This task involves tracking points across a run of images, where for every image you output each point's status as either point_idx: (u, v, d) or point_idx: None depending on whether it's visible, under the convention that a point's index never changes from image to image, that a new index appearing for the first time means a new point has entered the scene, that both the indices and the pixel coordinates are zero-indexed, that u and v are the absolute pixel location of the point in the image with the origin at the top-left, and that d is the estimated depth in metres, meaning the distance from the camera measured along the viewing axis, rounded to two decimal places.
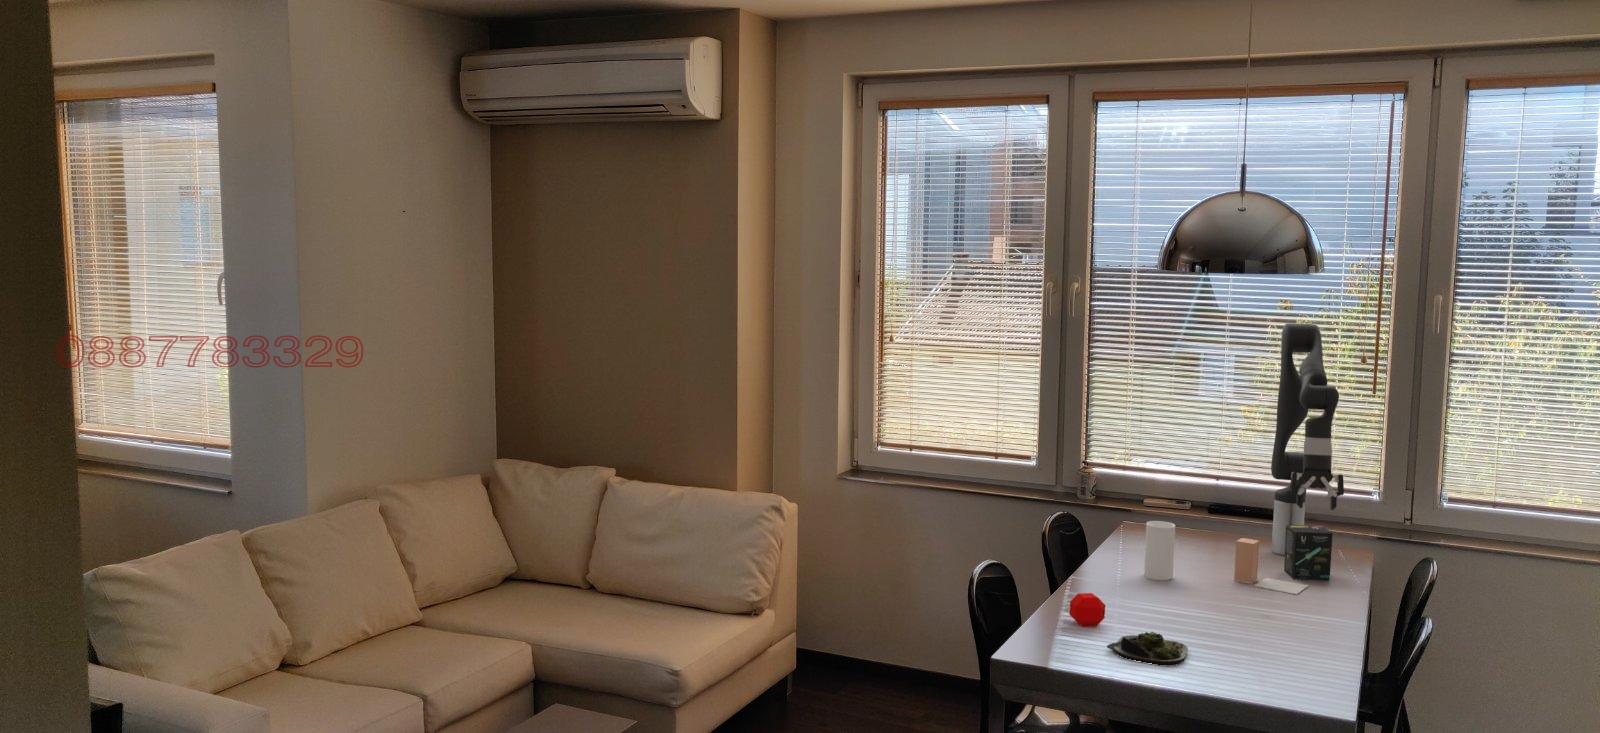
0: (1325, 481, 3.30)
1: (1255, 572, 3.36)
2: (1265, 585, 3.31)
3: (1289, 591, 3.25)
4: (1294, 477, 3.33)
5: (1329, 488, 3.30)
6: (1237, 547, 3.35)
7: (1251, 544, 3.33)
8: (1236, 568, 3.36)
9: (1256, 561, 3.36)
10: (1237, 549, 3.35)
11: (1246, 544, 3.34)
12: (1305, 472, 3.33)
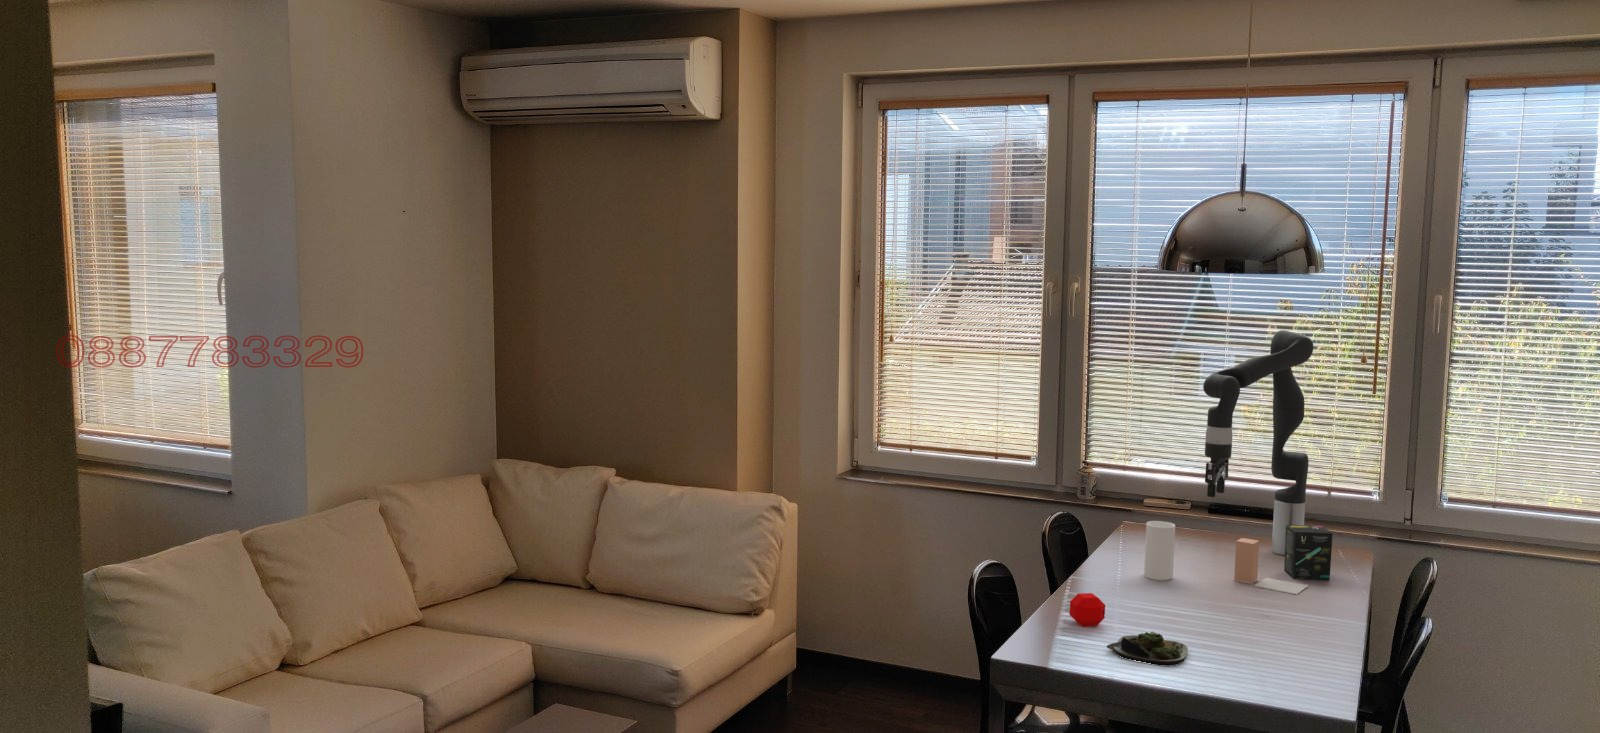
0: None
1: (1255, 572, 3.36)
2: (1265, 585, 3.31)
3: (1289, 591, 3.25)
4: None
5: None
6: (1237, 547, 3.35)
7: (1251, 544, 3.33)
8: (1236, 568, 3.36)
9: (1256, 561, 3.36)
10: (1237, 549, 3.36)
11: (1246, 544, 3.34)
12: None
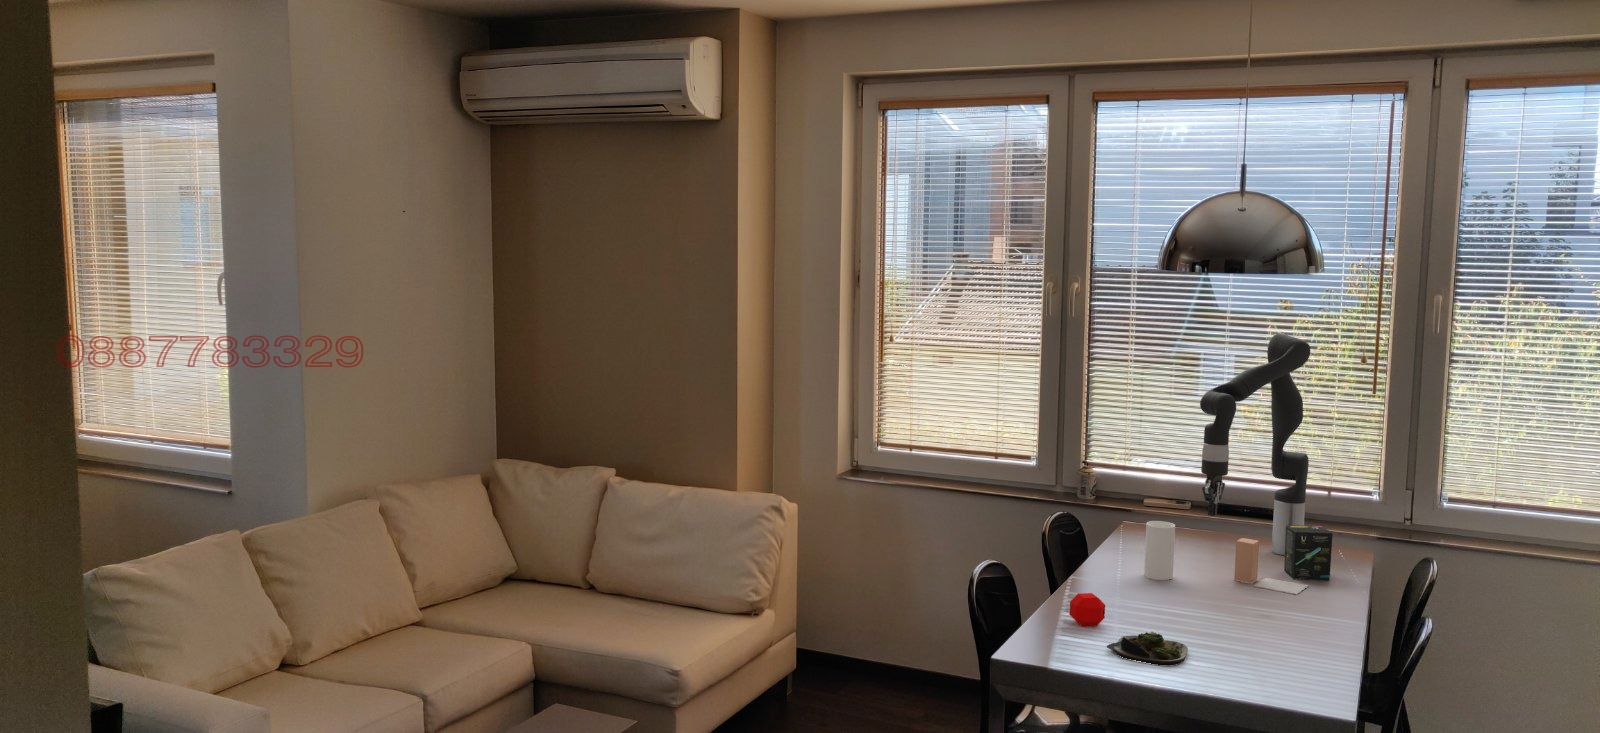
0: None
1: (1255, 572, 3.36)
2: (1265, 585, 3.31)
3: (1289, 591, 3.25)
4: None
5: None
6: (1237, 547, 3.35)
7: (1251, 544, 3.33)
8: (1236, 568, 3.36)
9: (1256, 561, 3.36)
10: (1237, 549, 3.35)
11: (1246, 544, 3.34)
12: None
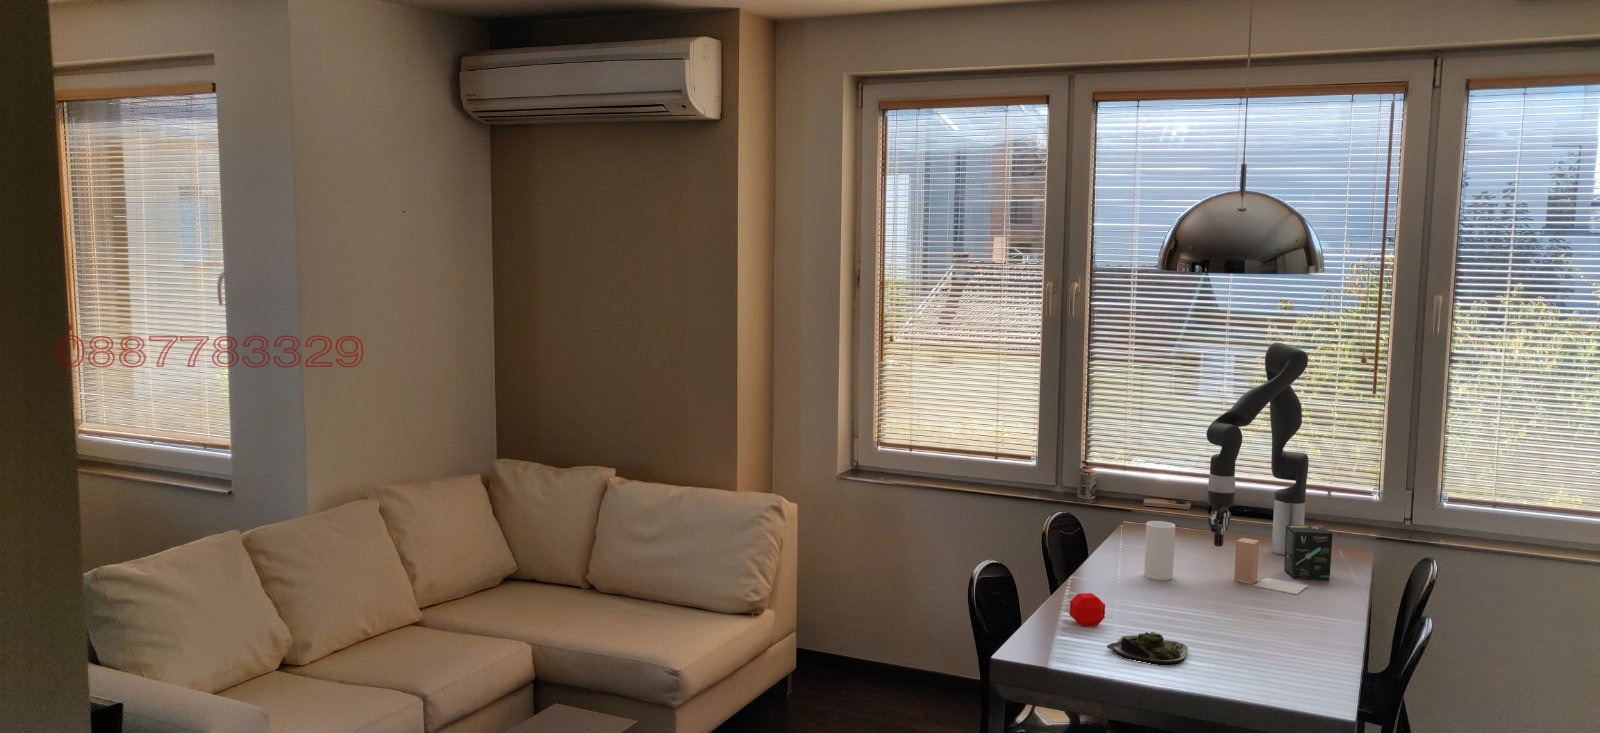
0: None
1: (1255, 572, 3.36)
2: (1265, 585, 3.31)
3: (1289, 591, 3.25)
4: None
5: None
6: (1237, 547, 3.35)
7: (1251, 544, 3.33)
8: (1236, 568, 3.36)
9: (1256, 561, 3.36)
10: (1237, 549, 3.35)
11: (1246, 544, 3.34)
12: None
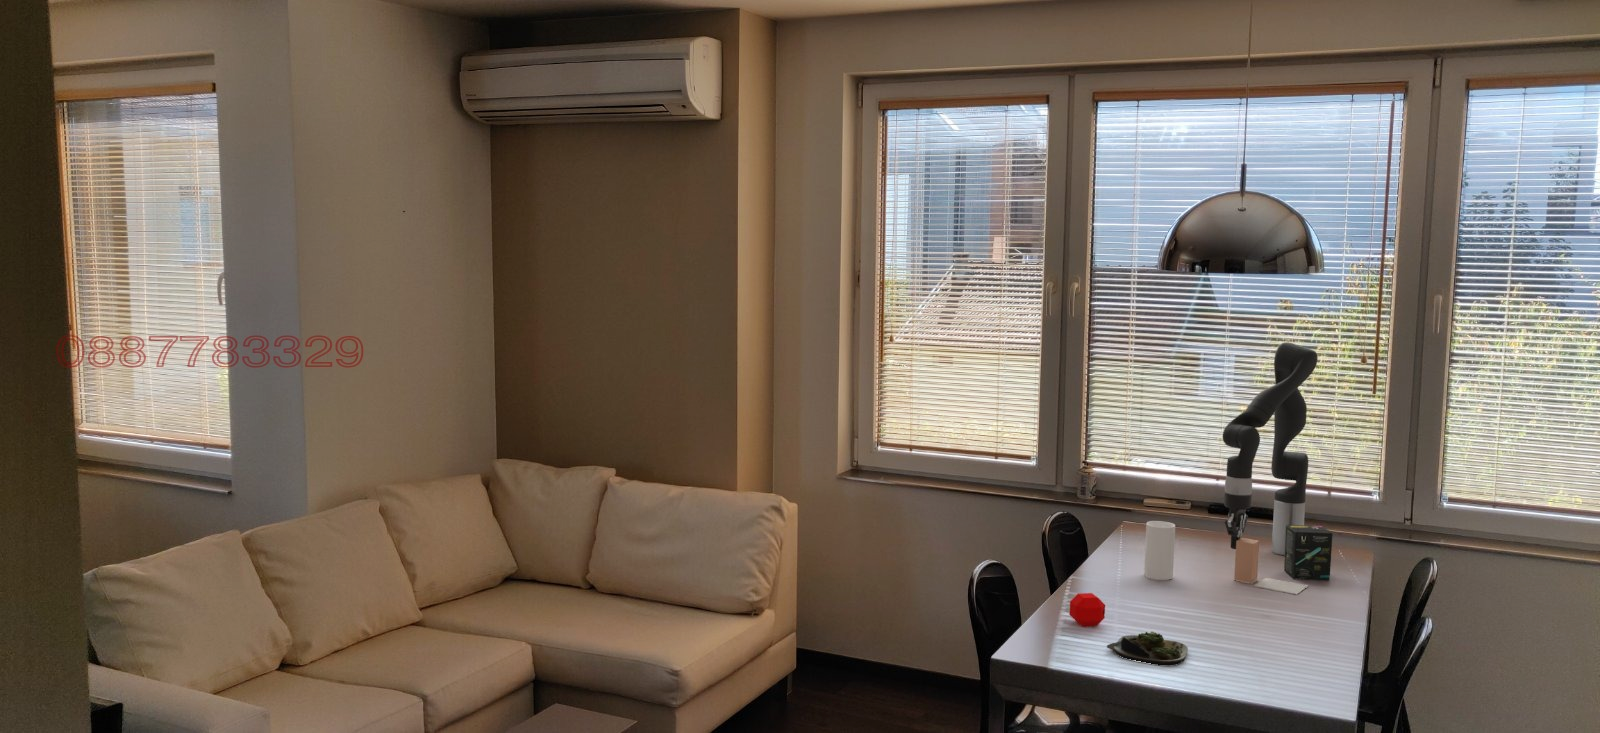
0: None
1: (1255, 572, 3.36)
2: (1265, 585, 3.31)
3: (1289, 591, 3.25)
4: None
5: None
6: (1237, 547, 3.35)
7: (1251, 544, 3.33)
8: (1236, 568, 3.36)
9: (1256, 561, 3.36)
10: (1237, 549, 3.35)
11: (1246, 544, 3.34)
12: None
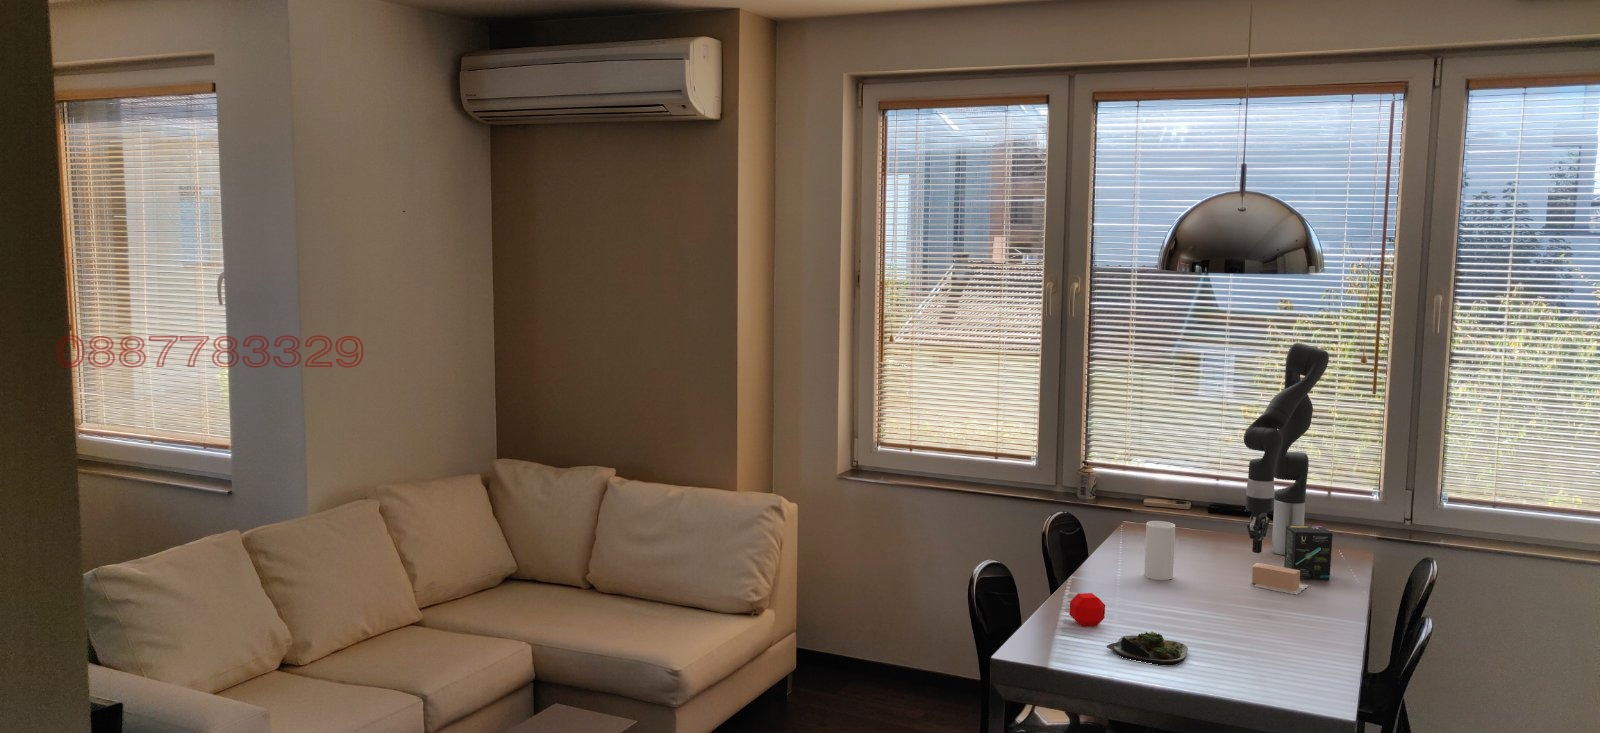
0: None
1: None
2: (1265, 585, 3.31)
3: (1289, 591, 3.25)
4: None
5: None
6: (1287, 574, 3.27)
7: (1292, 588, 3.26)
8: (1265, 570, 3.31)
9: None
10: (1285, 573, 3.27)
11: (1292, 583, 3.26)
12: None
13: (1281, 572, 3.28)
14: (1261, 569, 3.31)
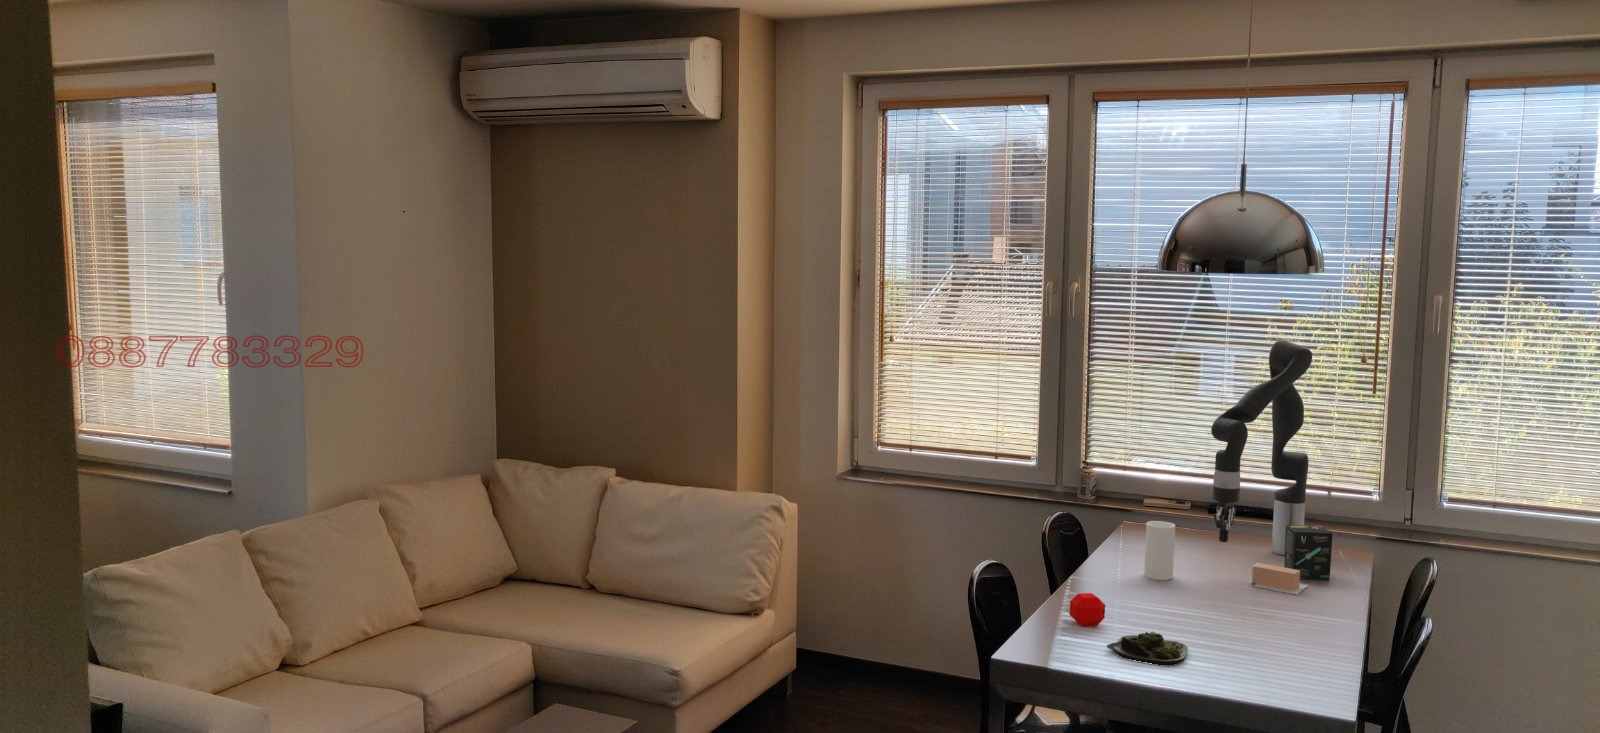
0: None
1: None
2: (1265, 585, 3.31)
3: (1289, 591, 3.25)
4: None
5: None
6: (1287, 574, 3.27)
7: (1292, 588, 3.26)
8: (1265, 570, 3.31)
9: None
10: (1285, 573, 3.27)
11: (1292, 583, 3.26)
12: None
13: (1281, 572, 3.28)
14: (1261, 569, 3.31)
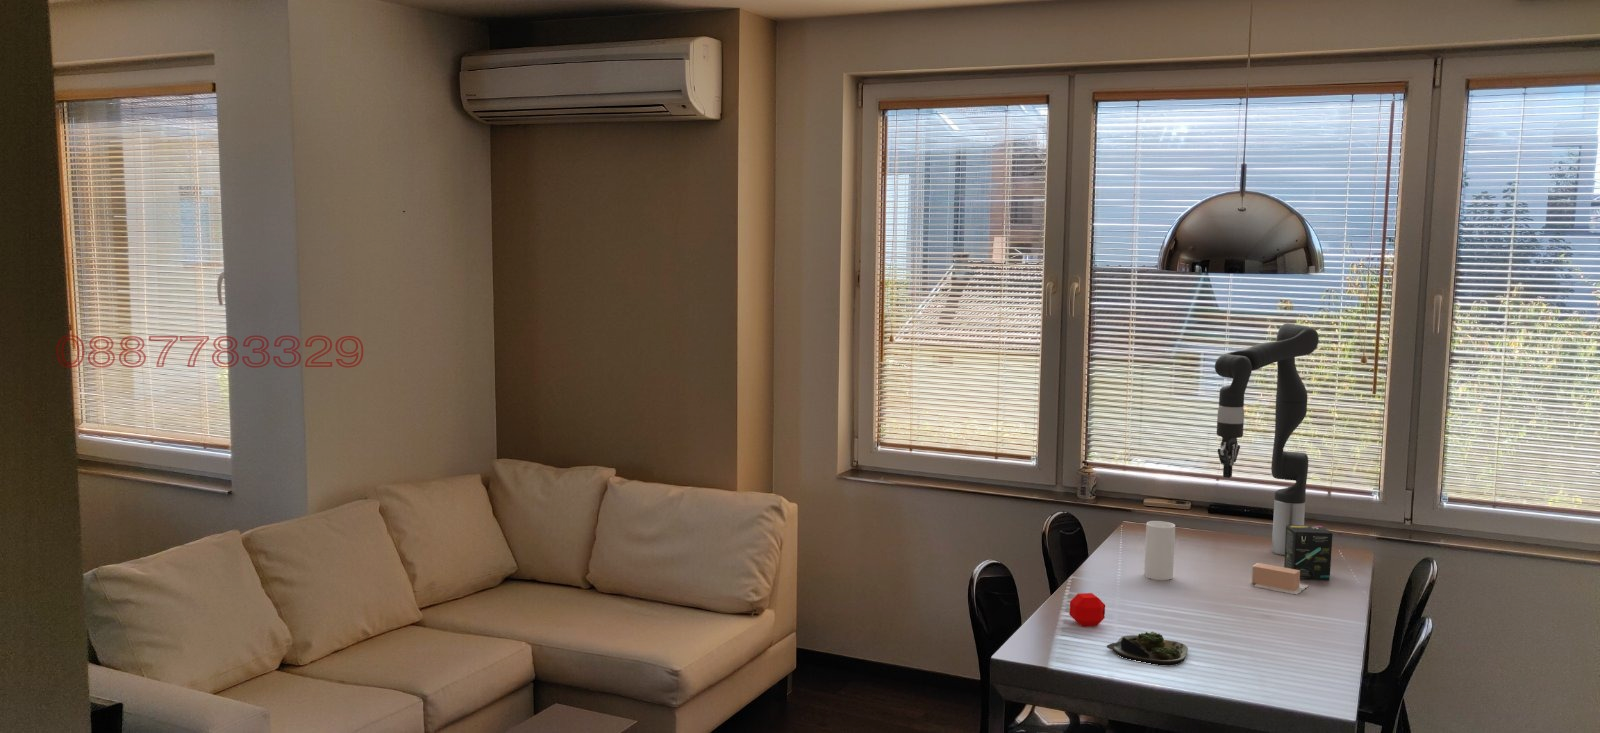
0: None
1: None
2: (1265, 585, 3.31)
3: (1289, 591, 3.25)
4: None
5: None
6: (1287, 574, 3.27)
7: (1292, 588, 3.26)
8: (1265, 570, 3.31)
9: None
10: (1285, 573, 3.27)
11: (1292, 583, 3.26)
12: None
13: (1281, 572, 3.28)
14: (1261, 569, 3.31)
